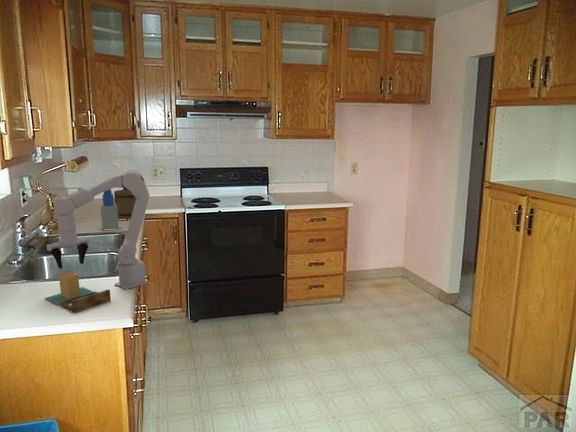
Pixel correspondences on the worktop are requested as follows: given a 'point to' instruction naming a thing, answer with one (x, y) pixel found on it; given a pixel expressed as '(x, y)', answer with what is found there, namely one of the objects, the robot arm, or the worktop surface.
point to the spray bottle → (109, 211)
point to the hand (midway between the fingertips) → (71, 265)
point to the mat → (59, 298)
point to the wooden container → (124, 203)
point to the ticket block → (69, 284)
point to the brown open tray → (86, 301)
